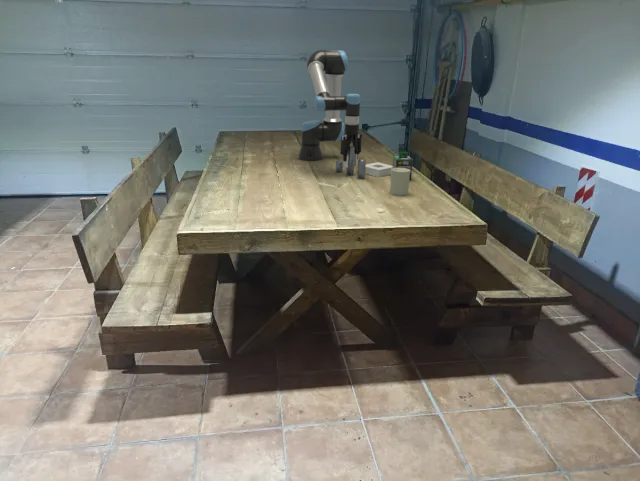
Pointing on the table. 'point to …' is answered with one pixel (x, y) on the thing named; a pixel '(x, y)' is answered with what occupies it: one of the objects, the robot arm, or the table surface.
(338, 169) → the short pin
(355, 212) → the table surface
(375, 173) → the socket block
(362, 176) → the medium pin
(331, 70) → the robot arm
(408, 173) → the can
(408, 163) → the chalk box
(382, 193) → the table surface
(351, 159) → the long pin
